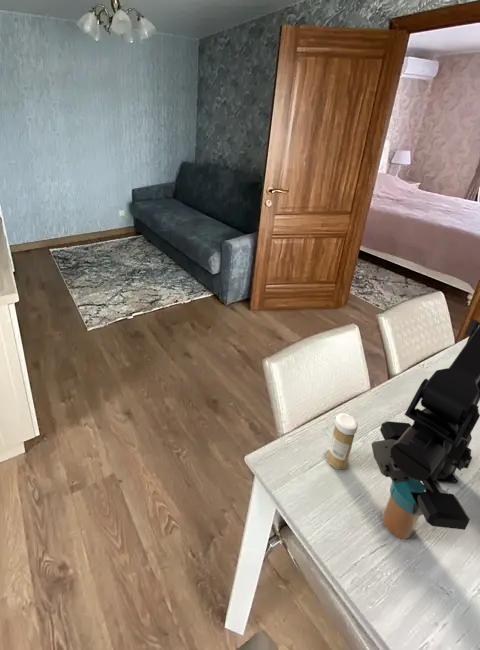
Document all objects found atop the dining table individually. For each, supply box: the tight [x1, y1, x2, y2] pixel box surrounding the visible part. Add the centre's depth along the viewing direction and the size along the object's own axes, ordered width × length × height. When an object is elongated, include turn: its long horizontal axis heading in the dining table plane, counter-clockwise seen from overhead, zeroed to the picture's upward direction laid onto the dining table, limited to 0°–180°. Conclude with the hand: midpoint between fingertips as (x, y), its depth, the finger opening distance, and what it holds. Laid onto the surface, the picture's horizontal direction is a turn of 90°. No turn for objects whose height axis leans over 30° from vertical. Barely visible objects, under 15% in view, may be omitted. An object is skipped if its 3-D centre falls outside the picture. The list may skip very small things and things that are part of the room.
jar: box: [381, 493, 420, 540], centre depth 69 cm, size 5×5×11 cm
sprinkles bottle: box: [326, 412, 359, 470], centre depth 81 cm, size 5×5×13 cm
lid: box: [389, 477, 426, 514], centre depth 67 cm, size 6×6×3 cm
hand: (407, 497), depth 68 cm, fingers closed on lid, 6 cm apart
